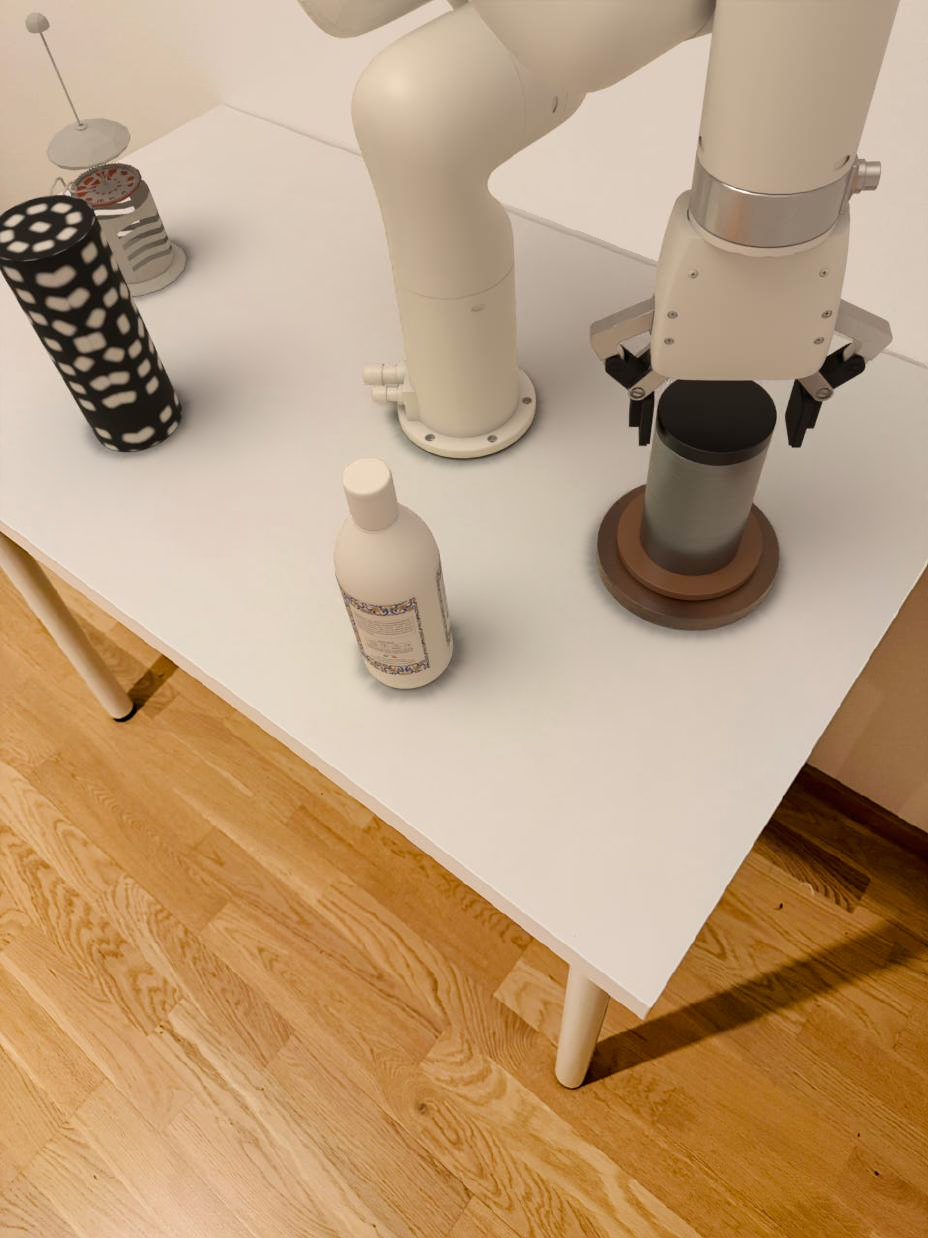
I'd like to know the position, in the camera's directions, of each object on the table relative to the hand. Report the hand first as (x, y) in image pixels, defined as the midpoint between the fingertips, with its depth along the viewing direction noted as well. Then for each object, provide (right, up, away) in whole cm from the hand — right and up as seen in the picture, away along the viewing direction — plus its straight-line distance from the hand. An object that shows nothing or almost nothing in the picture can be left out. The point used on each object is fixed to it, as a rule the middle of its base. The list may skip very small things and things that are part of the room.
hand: (717, 431), depth 60 cm
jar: (+1, -6, +11) cm, 12 cm away
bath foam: (-21, -15, +9) cm, 27 cm away
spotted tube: (-48, +6, +25) cm, 54 cm away
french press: (-52, +25, +38) cm, 69 cm away
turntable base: (+1, -7, +12) cm, 14 cm away
